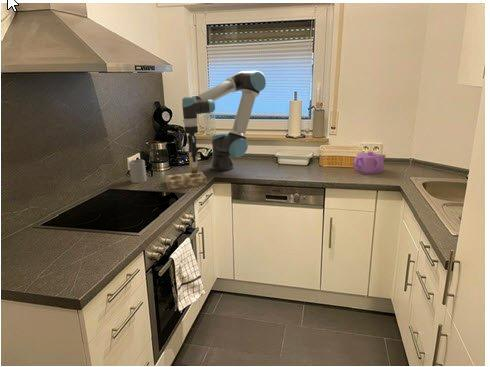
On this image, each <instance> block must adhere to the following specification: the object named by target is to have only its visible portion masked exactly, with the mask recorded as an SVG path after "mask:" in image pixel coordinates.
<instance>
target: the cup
mask: <svg viewBox="0 0 490 367" xmlns="http://www.w3.org/2000/svg"><path fill="white" fill-rule="evenodd" d="M128 168H129V174H130V181H131V183H133V184H136V183H137V184H138V183H139V184H140V183H145V182H147V181H148V179H147V178H148V177H147V170H146V161H145V160H144V159H132V160H129V161H128Z"/></svg>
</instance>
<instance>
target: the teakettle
mask: <svg viewBox="0 0 490 367" xmlns="http://www.w3.org/2000/svg"><path fill="white" fill-rule="evenodd" d="M386 157H387V156H386V154H379V153H375V152H373V151H367V152H365V153H357V154H356V157H354V160H353V167H354V170H355V172H358V173H359V174H362V175H365V176H366V175H368V176H369V175H376V174H381V173H383V172H384V169H385V162H384V160H385V158H386Z"/></svg>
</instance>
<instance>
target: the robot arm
mask: <svg viewBox="0 0 490 367" xmlns="http://www.w3.org/2000/svg"><path fill="white" fill-rule="evenodd" d="M266 83H267V79H266V77H265V74H264V73H263V72H262V71H259V70H246V71H245V70H242V71H240V72H237V73H235V74H234V75H233V74H232V75H231V76H230V77H227V78H226V80H225V81H224V82H222V83H219V84H217V85H216V86H214V87H211V88H209V89H208V90H206V91H204V92H202V93H200V94H198V95H197V96H189V97H188V96H187V97H186V96H185V97H183V98H182V99H181V102H182V103H181V107H182V116H183V120H182V122H183V125H184V127H183V129H184V134H188V135H187V140H188V142H187V143H188V153H189V152H191V154H192V155H191V159H192V168H193V167H197V165H198V159H197V160H196V156H197V157H198V153H197V152H198V151H197V138H196V137H197V136H196V135H195V134H198V133H199V128H198V115H200V114H201V115H202V114H211V113H213V112H215V110H216V103H215V101H217V100H219V99H221V98H223V97H225V96H227V95H228V94H230V93H236V92H238V91H241V97H240V101H239V105H238V108H237V112H236V115H235V118H234V122H233V125H232V129H231V130H230V131H228V132H224V133H216V134H213V135H212V136H211V145H212V146H211V147H212V160H211V164H210V169H211V170H213V171H219V172H220V171H221V172H222V171H230V170H233V169H234V166H235V164H234V162H233V159H232V157H233V158H234V157H236V158H239V157H242V156H244V155H245V154H246V153H247V151H248V148H249V146H248V141H247V135H246V132H247V128H248V126H249V122H250V119H251V118H250V117H251V114H252V112H253V109H254V104H255V100H256V98H257V97H259V95H260V92H262V91H263V90H265V88H266V85H267V84H266Z"/></svg>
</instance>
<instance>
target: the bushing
mask: <svg viewBox="0 0 490 367" xmlns="http://www.w3.org/2000/svg"><path fill="white" fill-rule="evenodd" d="M191 155H192V154H191V152H189V151H188V157H189V158H188V159H189V173H192V174H195V173H198V172H199V166H198V164H197V167H193V168H192V159H191ZM196 160H197V161H198V155H197V156H196Z"/></svg>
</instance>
